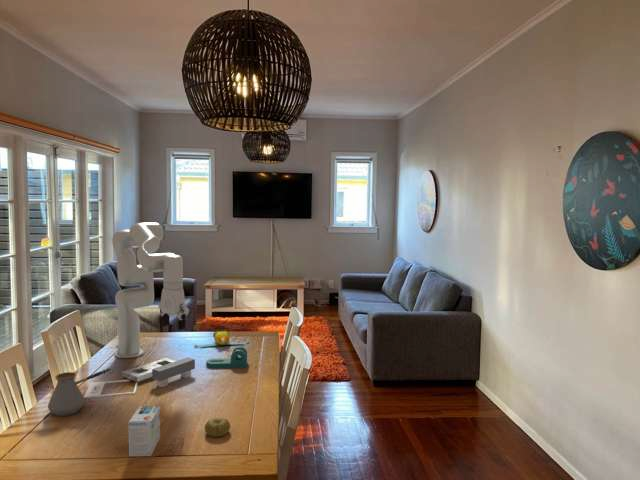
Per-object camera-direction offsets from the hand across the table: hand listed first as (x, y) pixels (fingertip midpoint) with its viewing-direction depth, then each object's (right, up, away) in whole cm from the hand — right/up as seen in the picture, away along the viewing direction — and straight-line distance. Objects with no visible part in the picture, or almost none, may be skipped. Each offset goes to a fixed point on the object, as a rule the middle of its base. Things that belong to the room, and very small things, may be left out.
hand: (173, 327), depth 199 cm
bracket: (+17, -21, +21) cm, 35 cm away
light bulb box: (+7, -27, -52) cm, 59 cm away
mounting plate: (-12, -21, +10) cm, 26 cm away
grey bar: (0, -22, +2) cm, 22 cm away
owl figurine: (+9, -19, +53) cm, 57 cm away
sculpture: (+27, -27, -42) cm, 57 cm away
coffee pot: (-24, -25, -27) cm, 44 cm away
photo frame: (-22, -23, -7) cm, 33 cm away
